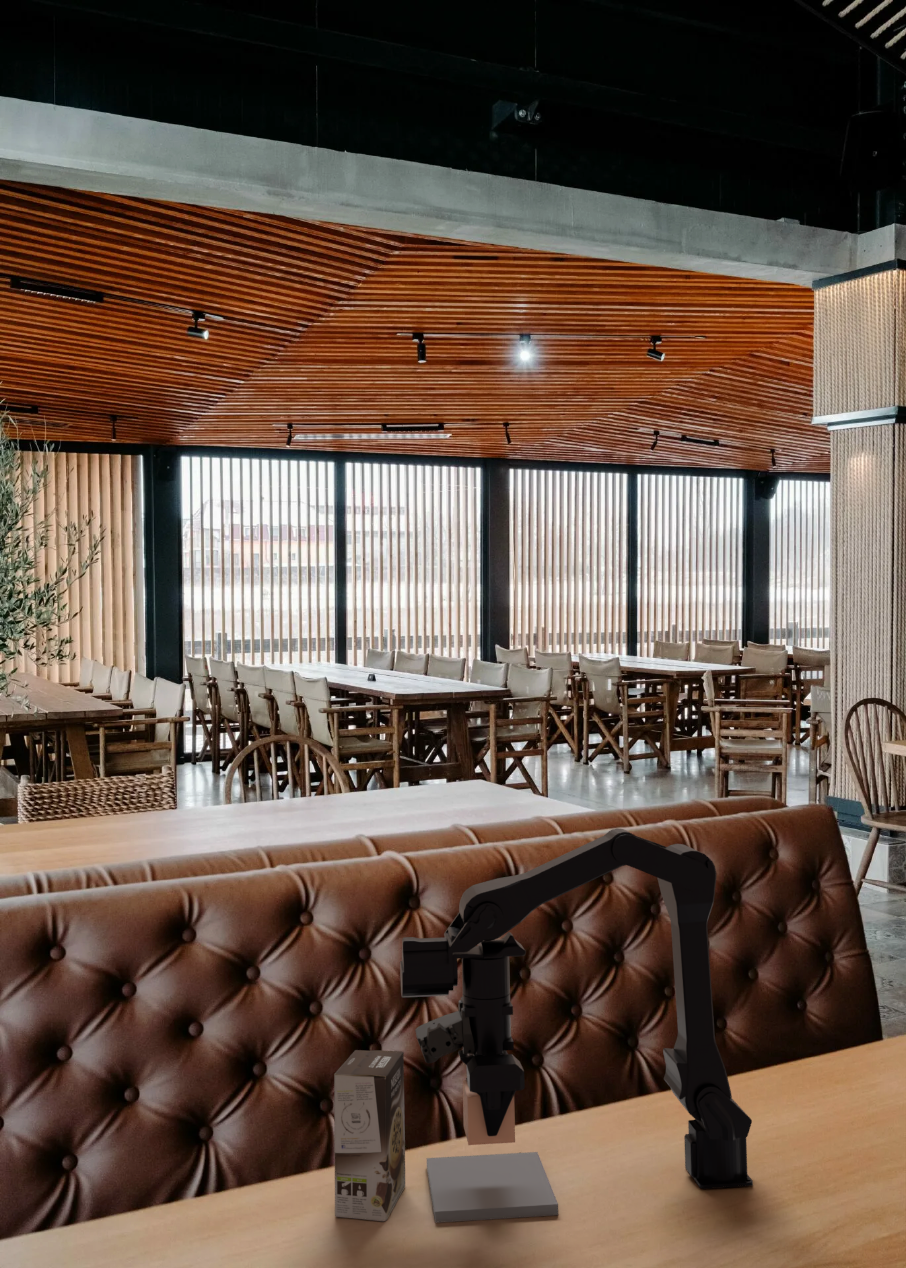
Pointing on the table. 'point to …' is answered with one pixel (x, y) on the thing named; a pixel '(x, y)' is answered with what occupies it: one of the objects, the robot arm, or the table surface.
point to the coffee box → (369, 1134)
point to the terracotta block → (476, 1123)
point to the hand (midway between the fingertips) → (489, 1125)
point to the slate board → (489, 1187)
